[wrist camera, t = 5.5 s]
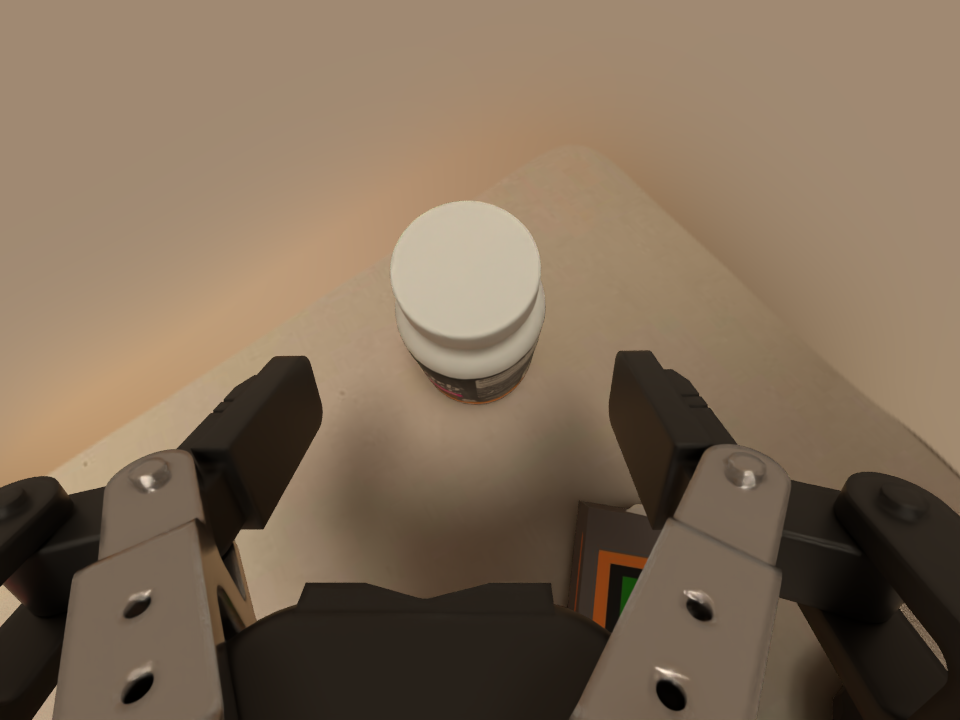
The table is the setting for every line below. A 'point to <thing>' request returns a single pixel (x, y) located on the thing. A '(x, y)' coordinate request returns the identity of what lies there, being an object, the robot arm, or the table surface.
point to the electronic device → (608, 559)
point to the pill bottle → (469, 298)
